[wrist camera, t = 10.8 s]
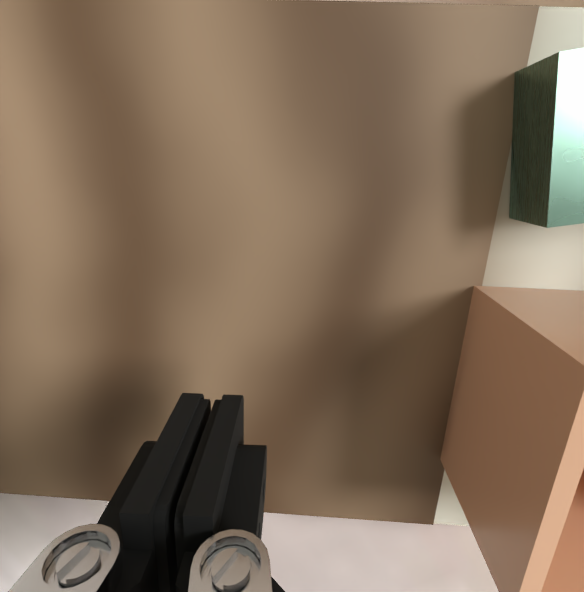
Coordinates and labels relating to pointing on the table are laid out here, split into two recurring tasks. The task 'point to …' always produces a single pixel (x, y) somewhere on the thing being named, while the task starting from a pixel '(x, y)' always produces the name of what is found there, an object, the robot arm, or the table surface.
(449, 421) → the peach open cubby box
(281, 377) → the board
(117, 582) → the robot arm
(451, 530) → the table surface
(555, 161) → the tin
